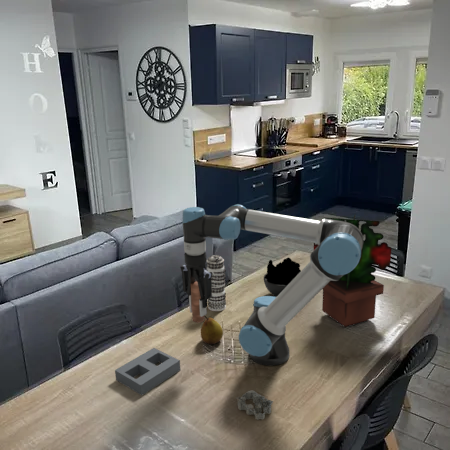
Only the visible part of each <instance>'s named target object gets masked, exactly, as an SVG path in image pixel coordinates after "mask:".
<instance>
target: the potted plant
mask: <svg viewBox="0 0 450 450" xmlns="http://www.w3.org/2000/svg"><path fill="white" fill-rule="evenodd" d="M323 219H331V220H337V221H343V222H348V223H351V224H353V225H355V226H356V227H357V228H358V229H359V230H360V231H361V233H362V235H363V236H365V237H364V239H363V247H362V250H361V257H360V260H359V263H358V264H357V266H356V267H355V268H354V269H353V270H352V271H351V272H349V273H347V274H345V275H343V276H342V277H341V278H340V279H339V280H338V281H330V282H329V283H328V284H327V285H326V286H325V287H324V288H323V289H322V305H321V307H322V308H321V310H322V312H324V313H325V314H326V315H328V316H329V317H330V318H331V319H333V320H334V321H335V322H337V323H338V324H340V325H341V326H343V327H344V328H349V327H352V326H355V325H358V324H362V323H365V322H368V320H372V319H375V316H376V303H377V296H379V295H383V294H384V287H385V285H384V284H383V283H380V282H379V281H377V280H376V276H375V275H373V274H375V273H376V271H377V268H376V267H374V266H378V269H379V270H382V271H384V270H386V269H387V267H390V266H391V258H392V247H391V246H389V244H388V243H387V242H385V241H382V240H383V239H384V234H383V233H381V232H375V231H374V229H373V228H371V227H378V226H379V225H380V221H379V220H368V219H367V220H366V219H356V214H354V216H353V218H339V217H338V218H337V217H323ZM360 222H363V223H362V224H361V225H360ZM379 241H382V242H380V244H379ZM318 246H319V245H318V244H317V243H314V242H313V251H314V250H315V249H316V248H317V247H318Z"/></svg>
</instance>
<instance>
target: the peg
mask: <svg viewBox="0 0 450 450" xmlns="http://www.w3.org/2000/svg"><path fill="white" fill-rule="evenodd" d="M199 299H201V296H200V292H199V287H198V282H197V281H196V280H195V282H193V283H191V301H192V314H191V315H192V316H191V317H192V319H191V320H192V322H193V323H202V322H203V323H204V321H205V320H206V318H205V316H206V315H204V316H202V317H201V316H200V305H199Z"/></svg>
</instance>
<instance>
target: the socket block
mask: <svg viewBox="0 0 450 450" xmlns="http://www.w3.org/2000/svg"><path fill="white" fill-rule="evenodd" d="M158 363H159V365H157V364H158ZM180 371H181V360H180V359H178V358H176V357H173V356H171V355H170V354H167V353H166V352H164V351H162V350H160V349H157V348H156V347H153V348H151V349H149V350H148V351H145V352H144V353H142V354H141V355H139V356H137V357H135V358H133V359H132V360H130V361H129V362H127V363H125V364H123V365H121V366H120V367H118V368H117V369H115V370H114V374H115V381H117V382H119V383H120V384H122V385H124V386H126V387H127V388H129V389H130V390H131V391H133V392H135V393H137V394H138V395H140V396H143V395H145V394H146V393H148V392H149V391H151V390H152V389H153V388H155V387H157V386H159V385H160V384H161V383H163V382H164V381H166V380H168V379H169V378H170V377H172V376H174V375H175V374H177V373H178V372H180ZM138 375H140V376H139V377H137V376H138ZM136 377H137V378H136Z"/></svg>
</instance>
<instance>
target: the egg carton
mask: <svg viewBox="0 0 450 450" xmlns="http://www.w3.org/2000/svg"><path fill="white" fill-rule="evenodd" d="M251 399H252V402H253V404H254V405H253V404H251V403H248V404H247V403H246V400H251ZM235 400H237V407H238V410H239V411H243V410H244V411H245V412H246V415H249V416H250V415H253V416H254V419H255V420H264V419H265V416H266V414H268V415H270V414H271V413H272V405H273V403H274V400H271V399H268V398H266V396H264V395H261V394H259V393H258V392H256V391H255V390H248V391H245V393H242V395H241V397H240V396H236V397H235ZM262 412H263V413H262Z"/></svg>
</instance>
